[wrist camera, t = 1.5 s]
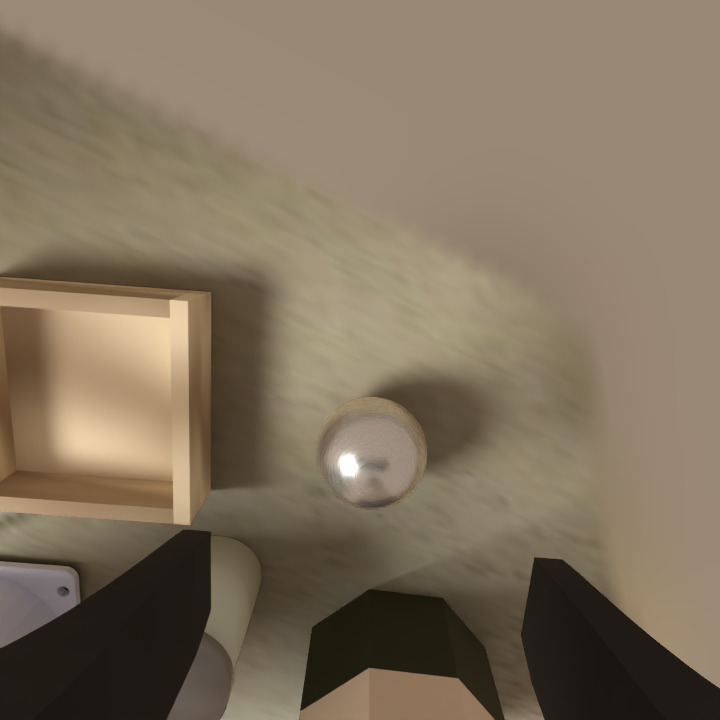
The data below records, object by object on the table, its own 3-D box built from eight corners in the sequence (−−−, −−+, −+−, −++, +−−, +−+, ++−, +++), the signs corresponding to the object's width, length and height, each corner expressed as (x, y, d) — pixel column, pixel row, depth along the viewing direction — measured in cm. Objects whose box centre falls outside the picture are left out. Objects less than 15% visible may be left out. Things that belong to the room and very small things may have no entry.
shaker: (263, 613, 23) (227, 743, 17) (177, 607, 23) (112, 735, 17) (265, 537, 22) (228, 646, 16) (175, 530, 22) (106, 638, 16)
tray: (211, 490, 22) (190, 525, 19) (12, 476, 22) (-35, 508, 19) (211, 291, 20) (188, 301, 17) (-8, 276, 20) (-63, 283, 17)
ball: (416, 481, 21) (427, 536, 18) (319, 473, 21) (307, 527, 18) (426, 387, 20) (440, 424, 17) (323, 379, 20) (313, 415, 17)
